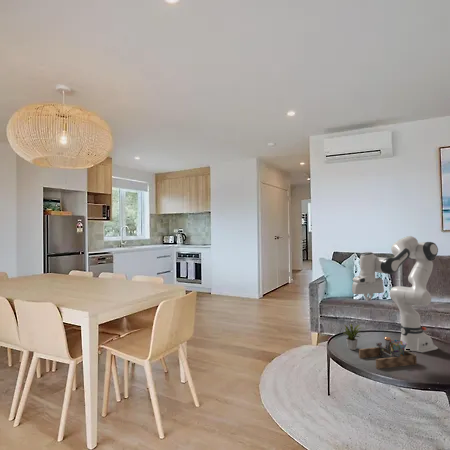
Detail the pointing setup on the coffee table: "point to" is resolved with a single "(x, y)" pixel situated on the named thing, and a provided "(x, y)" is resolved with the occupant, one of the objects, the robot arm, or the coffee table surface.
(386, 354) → the ram
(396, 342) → the mug
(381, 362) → the tray
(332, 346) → the coffee table surface
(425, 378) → the coffee table surface
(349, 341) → the house plant
